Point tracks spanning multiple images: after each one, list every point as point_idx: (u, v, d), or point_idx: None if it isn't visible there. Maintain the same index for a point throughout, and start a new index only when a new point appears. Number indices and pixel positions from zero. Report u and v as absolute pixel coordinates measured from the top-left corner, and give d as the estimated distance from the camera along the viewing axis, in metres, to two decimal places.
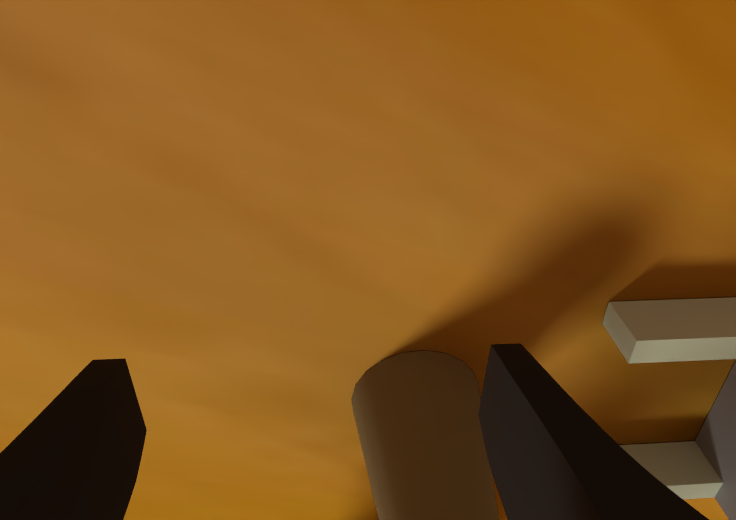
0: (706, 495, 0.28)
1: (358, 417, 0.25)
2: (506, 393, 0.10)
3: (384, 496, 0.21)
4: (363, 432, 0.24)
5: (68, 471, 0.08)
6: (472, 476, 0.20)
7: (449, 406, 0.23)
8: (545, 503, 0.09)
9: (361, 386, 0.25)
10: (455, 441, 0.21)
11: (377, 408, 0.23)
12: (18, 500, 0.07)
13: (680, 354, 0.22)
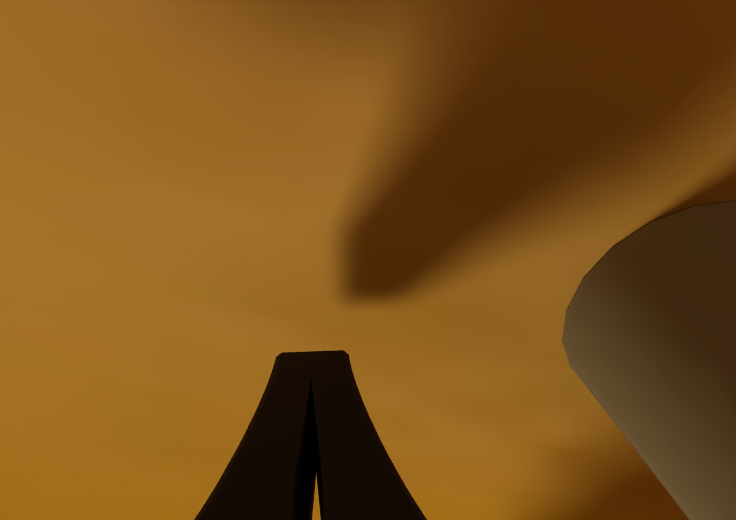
0: None
1: (603, 338, 0.12)
2: (313, 402, 0.10)
3: None
4: (633, 362, 0.11)
5: (301, 459, 0.09)
6: None
7: None
8: None
9: (604, 277, 0.12)
10: None
11: (676, 308, 0.11)
12: (287, 485, 0.08)
13: None
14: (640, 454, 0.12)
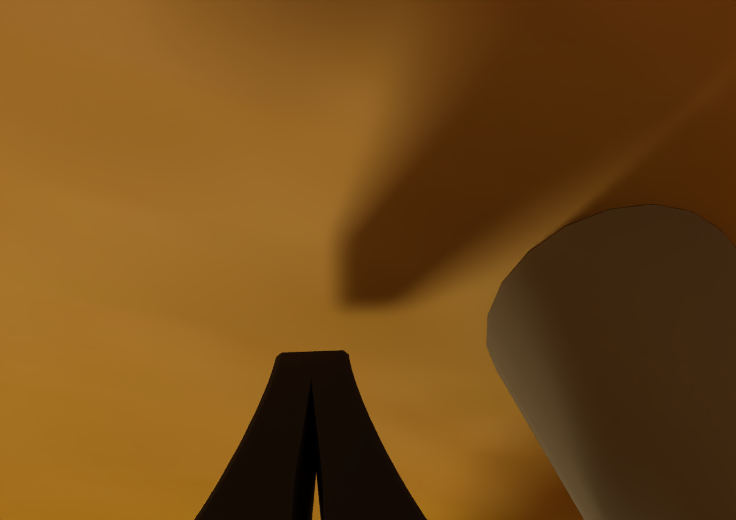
0: None
1: (517, 344, 0.12)
2: (313, 402, 0.10)
3: (662, 514, 0.08)
4: (540, 370, 0.11)
5: (301, 459, 0.09)
6: None
7: None
8: None
9: (520, 282, 0.12)
10: None
11: (581, 315, 0.10)
12: (287, 485, 0.08)
13: None
14: (551, 463, 0.11)
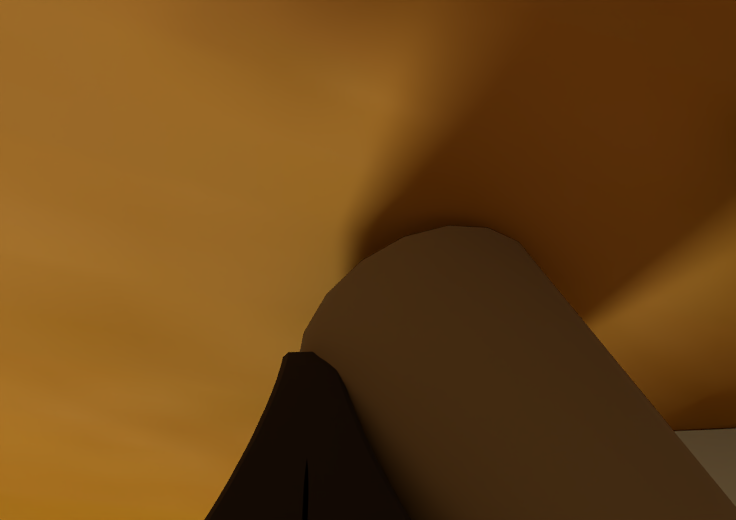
0: None
1: None
2: None
3: None
4: None
5: None
6: (706, 482, 0.07)
7: (560, 325, 0.09)
8: None
9: (321, 330, 0.11)
10: (619, 399, 0.08)
11: (382, 366, 0.09)
12: (297, 484, 0.08)
13: None
14: None
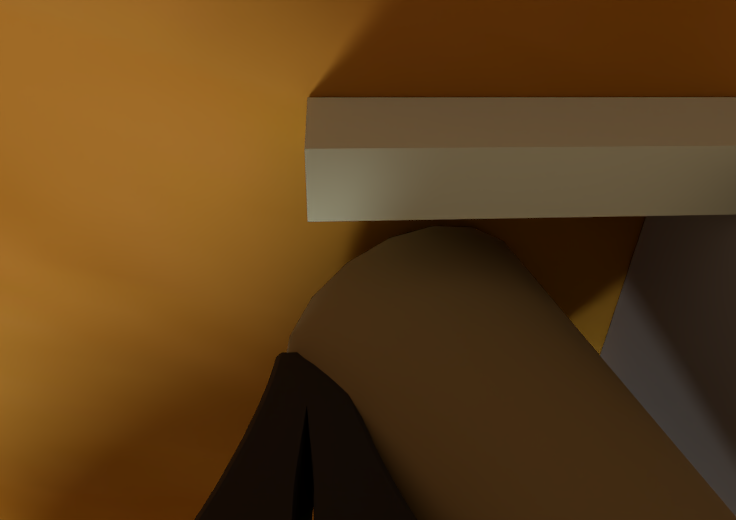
0: None
1: None
2: None
3: None
4: None
5: (302, 459, 0.09)
6: (694, 478, 0.07)
7: (547, 324, 0.09)
8: None
9: (307, 333, 0.11)
10: (607, 397, 0.08)
11: (370, 368, 0.09)
12: (287, 485, 0.08)
13: (438, 198, 0.09)
14: None
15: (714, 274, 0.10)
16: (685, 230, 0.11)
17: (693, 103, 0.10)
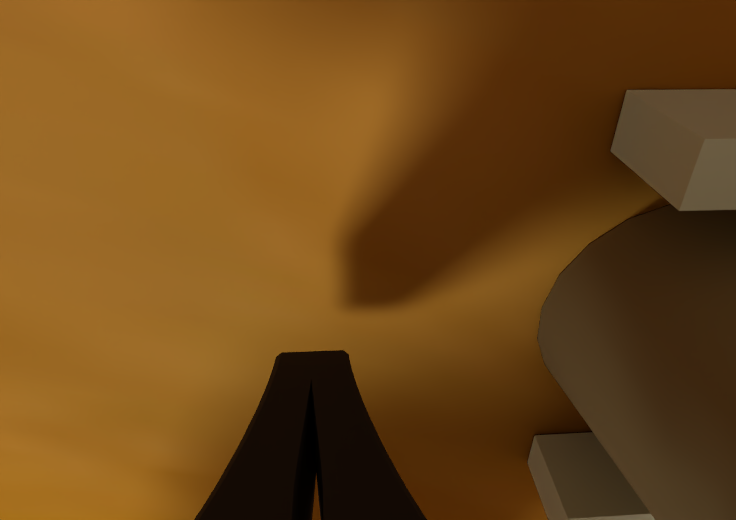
0: None
1: (577, 336, 0.12)
2: (313, 402, 0.10)
3: None
4: (606, 361, 0.11)
5: (302, 459, 0.09)
6: None
7: None
8: None
9: (580, 274, 0.12)
10: None
11: (651, 307, 0.10)
12: (287, 485, 0.08)
13: None
14: (611, 455, 0.11)
15: None
16: None
17: None
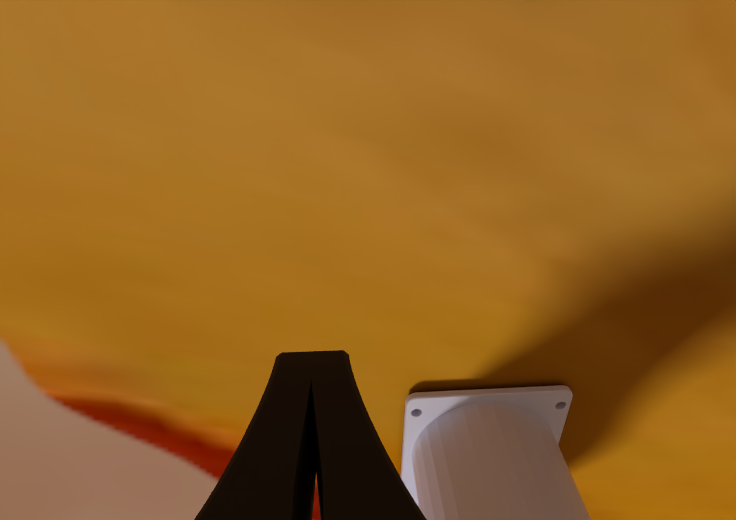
0: None
1: None
2: (313, 402, 0.10)
3: None
4: None
5: (301, 459, 0.09)
6: None
7: None
8: None
9: None
10: None
11: None
12: (287, 485, 0.08)
13: None
14: None
15: None
16: None
17: None
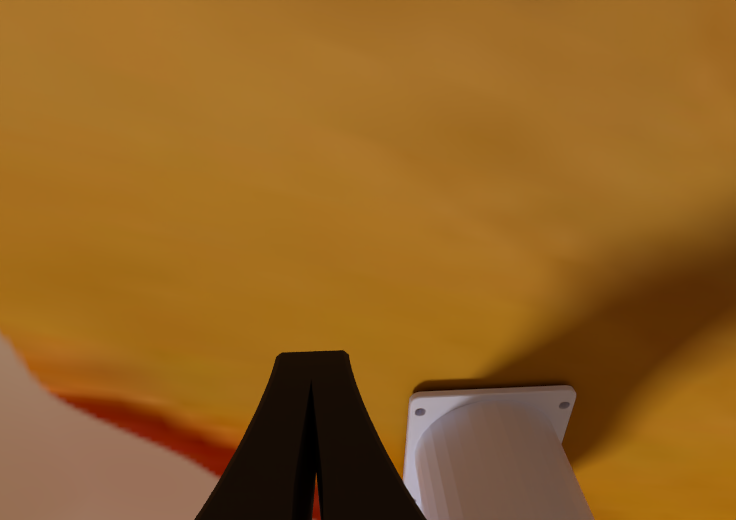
0: None
1: None
2: (313, 402, 0.10)
3: None
4: None
5: (302, 459, 0.09)
6: None
7: None
8: None
9: None
10: None
11: None
12: (287, 485, 0.08)
13: None
14: None
15: None
16: None
17: None
